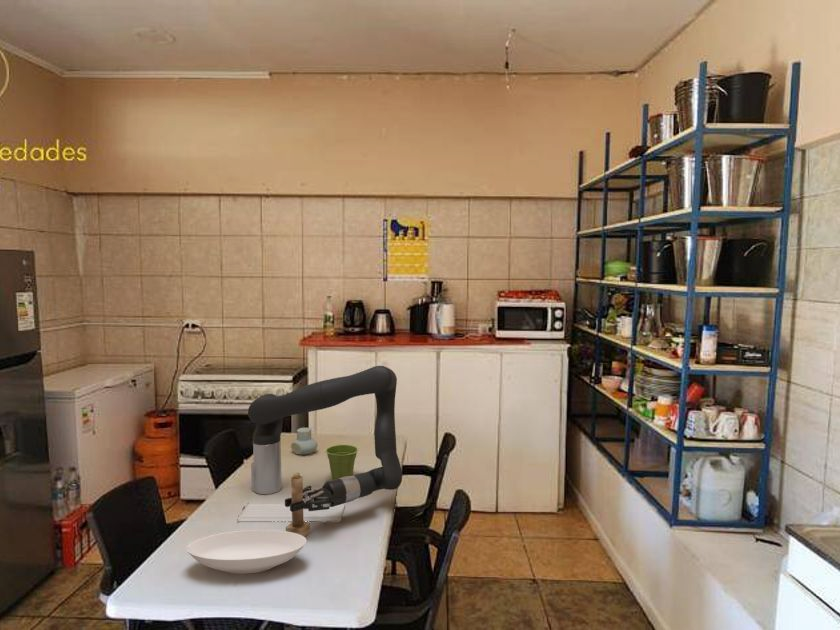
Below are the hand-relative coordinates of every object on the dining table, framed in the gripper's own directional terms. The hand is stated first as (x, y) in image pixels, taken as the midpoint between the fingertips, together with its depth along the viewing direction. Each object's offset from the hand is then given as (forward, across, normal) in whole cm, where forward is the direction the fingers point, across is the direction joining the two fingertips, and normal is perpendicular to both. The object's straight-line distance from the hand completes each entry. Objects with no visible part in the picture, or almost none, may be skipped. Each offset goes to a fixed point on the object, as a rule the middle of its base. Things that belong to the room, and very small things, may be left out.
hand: (288, 505), depth 151 cm
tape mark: (0, -4, +10) cm, 10 cm away
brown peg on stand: (-3, 0, +10) cm, 10 cm away
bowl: (+14, +8, +10) cm, 19 cm away
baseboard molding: (-7, -13, +10) cm, 18 cm away
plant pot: (-33, -29, +10) cm, 45 cm away
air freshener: (-34, -64, +10) cm, 73 cm away
